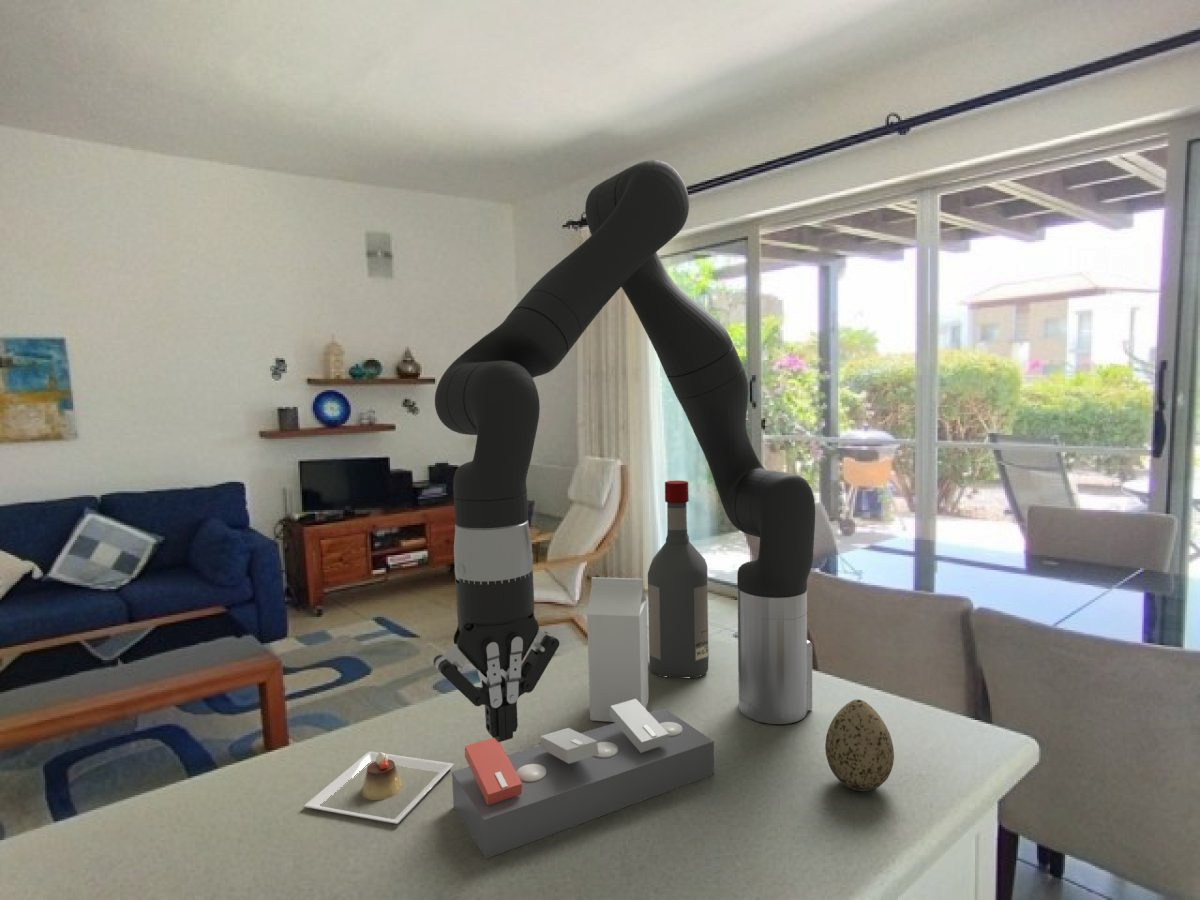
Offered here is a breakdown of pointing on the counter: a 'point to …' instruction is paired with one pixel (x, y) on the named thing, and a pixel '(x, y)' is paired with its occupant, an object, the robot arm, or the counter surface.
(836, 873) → the counter surface
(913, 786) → the counter surface
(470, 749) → the red rocker
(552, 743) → the middle rocker
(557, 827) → the rocker switch box
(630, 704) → the far rocker
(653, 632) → the liquor
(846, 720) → the decorative egg
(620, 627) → the milk carton
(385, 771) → the dessert
